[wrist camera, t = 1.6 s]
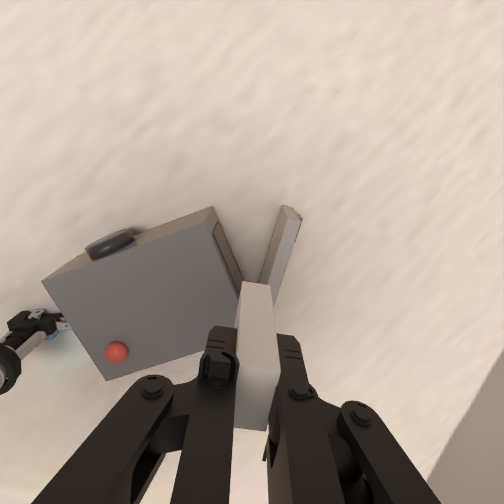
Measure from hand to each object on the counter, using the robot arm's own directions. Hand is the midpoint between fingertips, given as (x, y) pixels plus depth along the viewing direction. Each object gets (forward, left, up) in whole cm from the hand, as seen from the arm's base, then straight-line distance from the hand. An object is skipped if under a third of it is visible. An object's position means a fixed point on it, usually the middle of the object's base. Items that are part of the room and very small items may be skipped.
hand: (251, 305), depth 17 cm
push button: (-21, -16, -18) cm, 32 cm away
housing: (-8, -8, -18) cm, 21 cm away
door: (+3, -3, -17) cm, 18 cm away
